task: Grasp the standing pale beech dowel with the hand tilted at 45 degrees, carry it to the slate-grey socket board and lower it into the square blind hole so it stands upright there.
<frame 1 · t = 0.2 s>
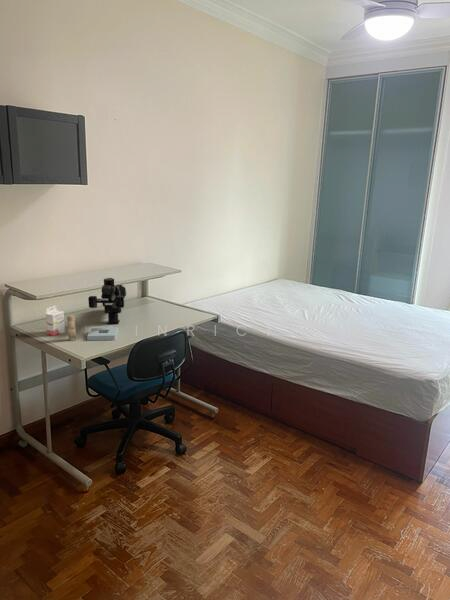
hand: (103, 306, 233), 17 cm above the table, tool horizontal, fingers open, 9 cm apart
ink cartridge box: (56, 333, 241), on the table
dowel: (72, 339, 232), on the table
socket board: (103, 335, 238), on the table
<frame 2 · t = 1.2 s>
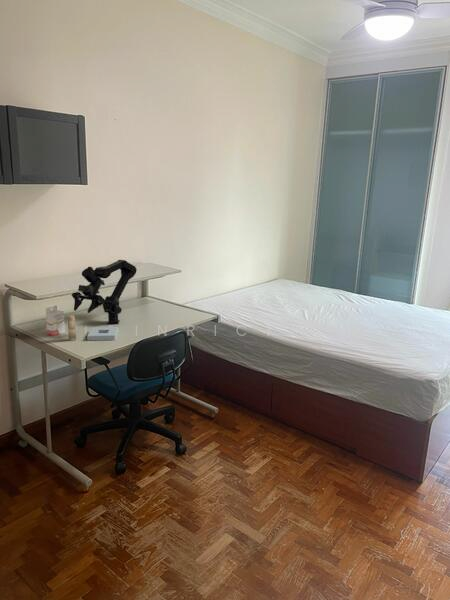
hand: (81, 311, 235), 13 cm above the table, tool tilted 45°, fingers open, 9 cm apart
nothing on the table moved.
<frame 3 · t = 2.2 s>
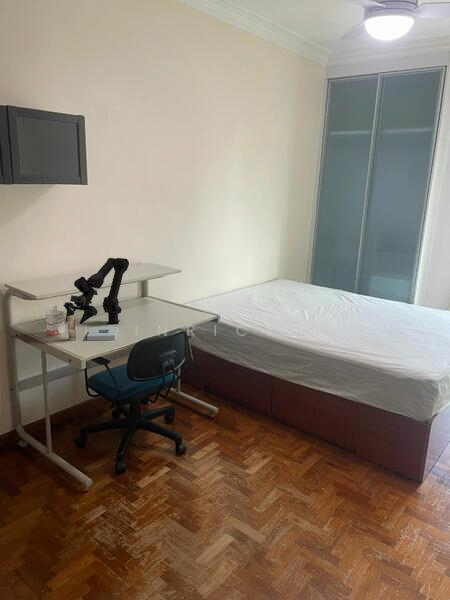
hand: (73, 322, 231), 9 cm above the table, tool tilted 45°, fingers open, 9 cm apart
nothing on the table moved.
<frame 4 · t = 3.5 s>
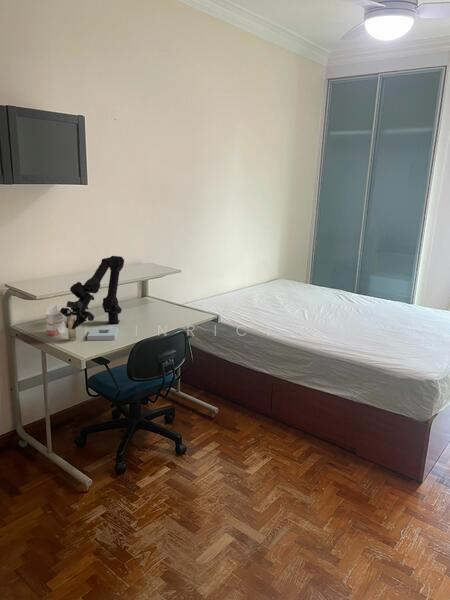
hand: (69, 328, 229), 7 cm above the table, tool tilted 45°, fingers closed on dowel, 4 cm apart
dowel: (72, 339, 232), on the table, touching gripper
everything else where it was.
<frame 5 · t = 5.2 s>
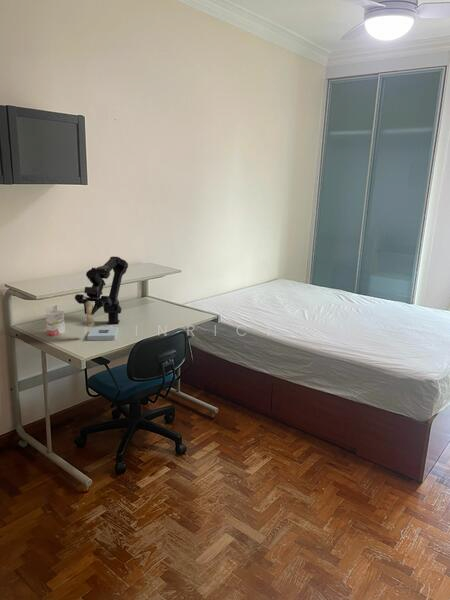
hand: (88, 313, 230), 14 cm above the table, tool tilted 45°, fingers closed on dowel, 4 cm apart
dowel: (90, 325, 233), point 7 cm above the table, touching gripper
everything else where it was.
when the fingers open (9 cm above the table, at t = 6.9 s): dowel drops 2 cm, resting on socket board.
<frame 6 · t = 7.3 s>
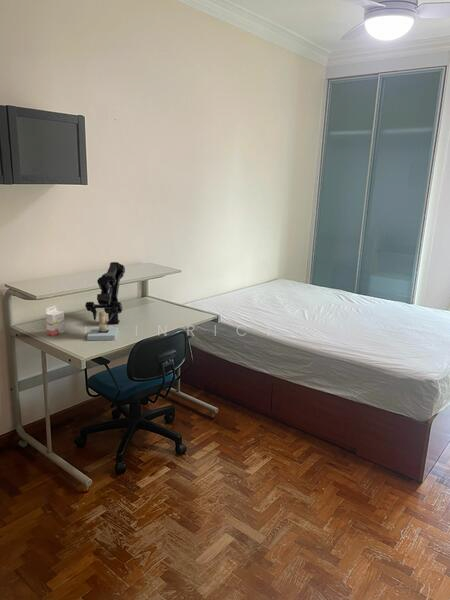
hand: (101, 320, 234), 9 cm above the table, tool tilted 45°, fingers open, 7 cm apart
dowel: (103, 334, 238), point 1 cm above the table, touching socket board
everything else where it was.
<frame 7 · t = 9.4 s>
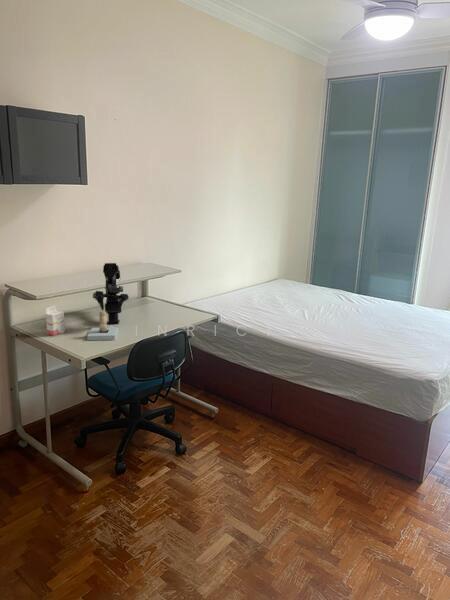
hand: (111, 311, 245), 11 cm above the table, tool tilted 30°, fingers open, 9 cm apart
nothing on the table moved.
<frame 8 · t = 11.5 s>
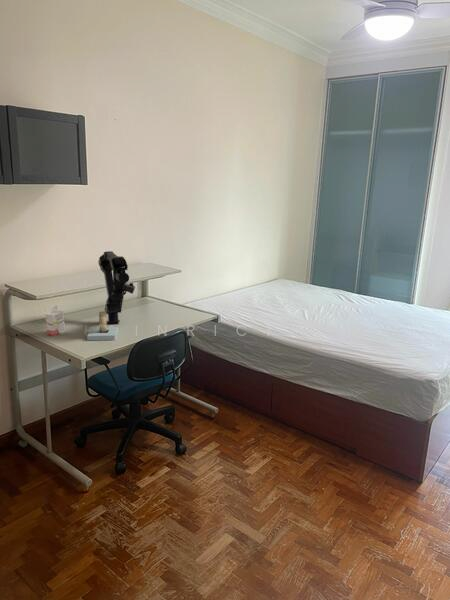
hand: (119, 307, 245), 13 cm above the table, tool pointing down, fingers open, 9 cm apart
nothing on the table moved.
at the end: dowel 0.0 cm off-centre on the socket board, point 0.6 cm above the socket board's base; dowel tilted 1°; the gripper is holding nothing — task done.
